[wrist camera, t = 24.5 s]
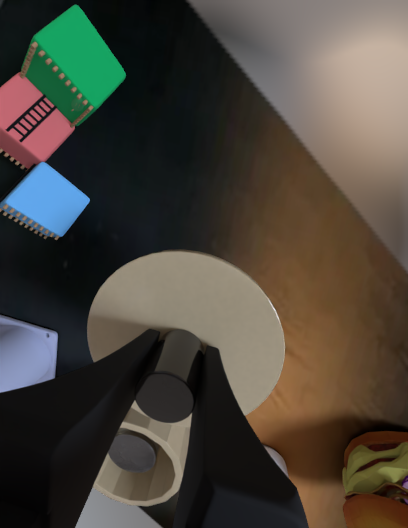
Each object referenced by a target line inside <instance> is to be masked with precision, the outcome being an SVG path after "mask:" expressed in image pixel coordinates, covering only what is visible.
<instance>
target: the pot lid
mask: <svg viewBox="0 0 408 528" xmlns="http://www.w3.org/2000/svg"><path fill="white" fill-rule="evenodd" d="M148 329H154V330H157V331H160V336H159V340H158V344H157V346H156V347H155V349H154V351H153V353H152V355H151V357H150V359H149V361H148V362H147V364H146V366H145V368H144V370H143V372H142V374H141V375H140V377H139V379H138V381H137V383H136V385H135V389H134V396H135V401H134V403H133V404H132V406H131V408H133V409H134V410H136V411H137V412H139V413H141V414H143V415H145V416H147V417H149V418H151V419H153V420H156V421H159V422H162V423H166V424H169V425H174V426H179V427H188V428H190V426H191V417H192V412H193V410H194V408H195V404H196V399H197V393H198V388H199V382H200V376H201V369H202V364H203V358H204V354H205V350H206V347H207V345H209V346H212V347H216V348H218V349H219V351H220V355H221V360H222V363H223V366H224V370H225V373H226V375H227V378H228V381H229V384H230V386H231V389H232V391H233V393H234V396H235V398H236V400H237V402H238V404H239V406H240V408H241V410H242V412H243V414H244V416H245V415H247V414H249V413H250V412H251V411H253V410H254V409H256V408H257V407H258V406H259V405H260V404H261V403H262V402H263V401H264V400H265V399H266V398H267V397H268V396H269V394H270V393H271V392H272V390H273V389H274V387H275V385H276V383H277V382H278V379H279V376H280V374H281V371H282V367H283V363H284V356H285V342H284V333H283V329H282V326H281V322H280V319H279V317H278V315H277V312H276V310H275V308H274V306H273V304H272V302H271V301H270V299H269V297H268V296H267V294H266V293H265V292H264V291H263V289H262V288H261V287H260V286H259V285H258V284H257V283H256V282H255V281H254V280H253V279H252V278H251V277H250V276H249V275H248V274H246V273H245V272H244V271H242V270H241V269H239V268H238V267H237V266H235V265H233V264H231V263H229V262H227V261H225V260H223V259H221V258H218V257H216V256H213V255H210V254H206V253H202V252H198V251H190V250H165V251H159V252H154V253H150V254H147V255H144V256H141V257H139V258H137V259H135V260H133V261H130V262H129V263H127V264H125V265H124V266H122V267H121V268H119V269H118V270H117V271H115V272H114V273H113V274H112V275H111V276H110V277H109V278H108V279H107V280H106V281H105V283H104V284H103V285H102V286H101V288H100V289H99V291H98V293H97V294H96V296H95V298H94V301H93V303H92V306H91V308H90V313H89V317H88V326H87V335H88V344H89V349H90V353H91V356H92V359H93V362H96V361H98V360H100V359H102V358H104V357H106V356H108V355H109V354H111V353H113V352H115V351H116V350H118V349H120V348H121V347H123V346H124V345H126V344H127V343H129V342H131V341H132V340H134V339H135V338H136V337H138V336H139V335H141V334H142V333H143V332H145V331H146V330H148Z"/></svg>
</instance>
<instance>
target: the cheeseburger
mask: <svg viewBox="0 0 408 528" xmlns="http://www.w3.org/2000/svg"><path fill="white" fill-rule="evenodd" d="M344 466H345V467H344V468H343V485H344V488H345V491H346V494H345V495H344V498H345V499H346V500H347V501H346V502H345V504H344V505H343V512H344V517H345V520H346V524H347V528H408V432H395V431H379V432H367V433H365V434H363V435H361V436H358V437H356V438H354V439H352V441H351V442H350V444H349V445H348V447H347V448H346V450H345V454H344Z"/></svg>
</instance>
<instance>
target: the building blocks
mask: <svg viewBox="0 0 408 528" xmlns="http://www.w3.org/2000/svg"><path fill="white" fill-rule="evenodd" d="M125 77H126V74H125V71H124V70H123V68H122V67H121V65H120V64H119V62H118V61H117V59H116V58H115V57H114V55H113V54H112V52H111V51H110V49H109V48H108V47H107V45H106V44H105V42H104V41H103V39H102V38H101V37H100V35H99V34H98V32H97V31H96V29H95V28H94V27H93V25H92V24H91V22H90V21H89V19H88V18H87V17H86V15H85V14H84V12H83V11H82V10H81V8H80V7H79V6H78V5H73V6H72V7H71V8H69V9H68V10H67V11H65V12H64V13H63V14H61V15H60V16H59V17H57V18H56V19H55V20H53V21H52V22H51V23H50V24H48V25H47V26H46V27H44V28H43V29H42V30H40V31H39V32H38V33H37V34H35V35H34V37H33V38H32V40H31V43H30V46H29V49H28V51H27V54H26V57H25V60H24V62H23V65H22V68H21V72H19V73H17V74H16V75H15V76H14V77H12V78H11V79H10V80H9V81H7V82H6V83H5V84H4V85H3V86H1V87H0V153H1V152H2V151H5V152H6V153H5V154H4V156H5V157H7V156H8V155H10V156H11V158H10V159H9V160H10V161H13V160H14V159H15V160H17V162H16V163H15V164H16V165H19V164H20V163H21V164H22V166H21V167H20V168H21V169H24V168H25V167H26V168H27V170H26V172H25V173H24V174H23V175H22V176H21V177H20V178H19V179H18V180H17V182H16V183H15V184H14V185H13V186H12V187H11V188H10V189H9V190H8V191H7V192H6V193H5V194H4V195H3V196H2V197H1V198H0V212H1V211H2V210H4V211H5V212H4V213H3V215H4V216H6V215H7V214H8V213H9V214H11V215H10V216H9V217H8V218H10V219H12V217H13V216H14V217H16V219H15V220H14V221H15V222H17V221H18V220H21V222H20V223H19V224H20V225H22V224H23V223H26V225H25V226H24V227H25V228H27V227H28V226H31V228H30V229H29V230H30V231H32V230H33V229H36V231H35V232H34V233H36V234H37V232H38V231H39V232H41V233H40V234H39V236H42V235H43V234H44V235H45V236H44V237H43V238H44V239H46V238H47V237H48V236H50V237H55V240H57V239H58V238H59V237H62V236H64V234H65V233H66V232H67V231H68V229H69V228H70V227H71V225H72V224H73V223H74V221H75V220H76V219H77V218H78V216H79V215H80V214H81V212H82V211H83V210H84V208H85V207H86V206H87V205H88V203H89V202H90V199H89V198H88V197H87V196H86V195H85V194H84V193H83V192H81V191H80V190H79V189H78V188H76V187H75V186H74V185H73V184H71V183H70V182H69V181H68V180H67V179H65V178H64V177H63V176H62V175H60V174H59V173H58V172H57V171H55V170H54V169H53V168H52V167H51V166H49V165H48V164H47V163H45V161H46V160H47V159H48V158H49V157H50V156H51V155H52V154H53V153H54V152H55V151H56V149H57V148H58V147H59V146H60V145H61V144H62V143H63V142H64V141H65V140H66V139H67V138H68V137H69V136H70V134H71V133H72V132H73V131H74V129H75V126H79V125H80V124H81V123H82V122H83V121H85V120H86V119H87V118H88V117H89V116H90V115H91V114H92V113H93V112H95V111H96V110H97V109H98V108H99V107H100V106H101V105H102V103H103V102H104V101H105V100H106V99H107V98H108V97H109V96H110V95H111V94H112V93H113V92H114V91H115V89H116V88H117V87H118V86H119V85H120V84H121V83H122V82H123V81H124V79H125Z"/></svg>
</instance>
